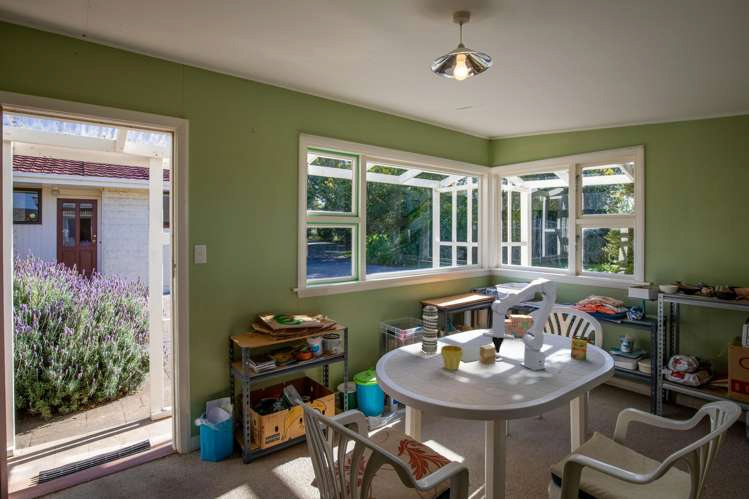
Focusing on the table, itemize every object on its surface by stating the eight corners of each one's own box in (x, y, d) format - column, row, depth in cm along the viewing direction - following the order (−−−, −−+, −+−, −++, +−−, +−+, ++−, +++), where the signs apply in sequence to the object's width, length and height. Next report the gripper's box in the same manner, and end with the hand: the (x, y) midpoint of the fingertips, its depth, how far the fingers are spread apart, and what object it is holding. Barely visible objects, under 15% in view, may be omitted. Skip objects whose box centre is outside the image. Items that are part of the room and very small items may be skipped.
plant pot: (446, 372, 200) (446, 352, 199) (437, 364, 210) (437, 345, 209) (466, 370, 202) (466, 350, 202) (456, 363, 212) (456, 344, 212)
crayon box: (570, 357, 222) (571, 336, 221) (570, 356, 225) (572, 334, 224) (586, 360, 218) (587, 338, 217) (586, 358, 221) (587, 336, 220)
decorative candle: (429, 355, 223) (430, 309, 221) (417, 351, 230) (418, 306, 228) (441, 352, 229) (442, 307, 227) (428, 347, 236) (429, 304, 234)
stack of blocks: (496, 336, 260) (497, 316, 259) (494, 333, 267) (495, 314, 266) (531, 337, 259) (532, 317, 258) (529, 334, 265) (529, 315, 264)
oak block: (495, 362, 213) (495, 347, 213) (485, 364, 211) (486, 349, 210) (488, 359, 218) (489, 344, 217) (479, 361, 215) (479, 346, 215)
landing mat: (499, 356, 222) (499, 356, 222) (465, 362, 213) (465, 361, 213) (478, 346, 238) (478, 346, 238) (445, 351, 229) (445, 351, 229)
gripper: (514, 325, 207) (513, 351, 208) (484, 321, 212) (483, 347, 213) (513, 328, 200) (512, 356, 201) (482, 325, 206) (481, 352, 207)
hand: (497, 352), depth 207 cm, fingers closed
